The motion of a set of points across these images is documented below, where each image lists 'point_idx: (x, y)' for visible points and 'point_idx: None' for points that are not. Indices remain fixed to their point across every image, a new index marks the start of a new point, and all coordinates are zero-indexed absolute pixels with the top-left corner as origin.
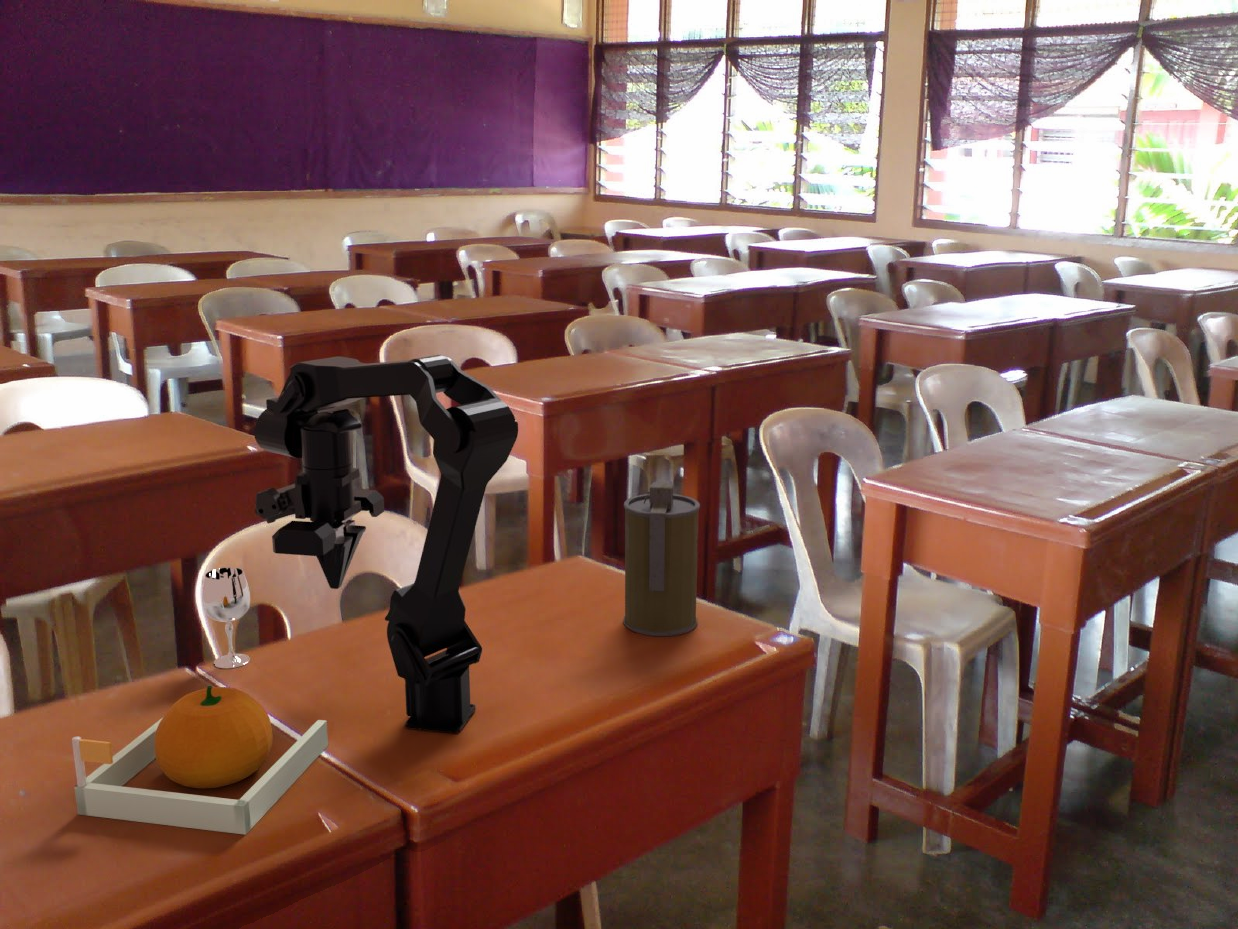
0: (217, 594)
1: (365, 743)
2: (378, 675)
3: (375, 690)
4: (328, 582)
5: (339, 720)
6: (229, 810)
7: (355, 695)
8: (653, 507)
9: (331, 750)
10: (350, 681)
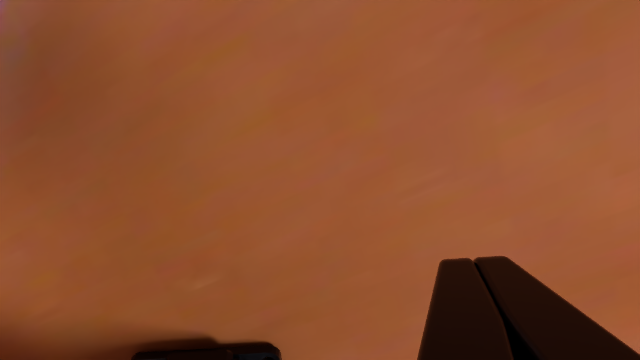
0: None
1: (20, 301)
2: (439, 150)
3: (324, 191)
4: (432, 298)
5: (95, 184)
6: None
7: (270, 150)
8: None
9: None
10: (369, 81)
